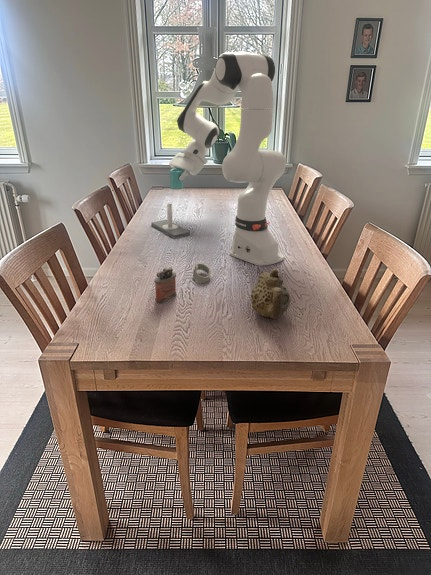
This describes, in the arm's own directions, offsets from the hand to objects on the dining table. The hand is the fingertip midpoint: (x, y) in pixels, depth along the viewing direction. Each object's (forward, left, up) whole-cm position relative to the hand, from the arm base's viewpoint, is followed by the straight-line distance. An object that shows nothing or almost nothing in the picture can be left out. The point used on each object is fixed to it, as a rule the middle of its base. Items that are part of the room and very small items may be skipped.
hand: (175, 178), depth 187 cm
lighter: (-63, +43, -21) cm, 79 cm away
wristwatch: (-57, +25, -21) cm, 65 cm away
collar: (0, -1, -5) cm, 5 cm away
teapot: (-89, +23, -21) cm, 94 cm away
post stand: (-9, +9, -21) cm, 24 cm away
